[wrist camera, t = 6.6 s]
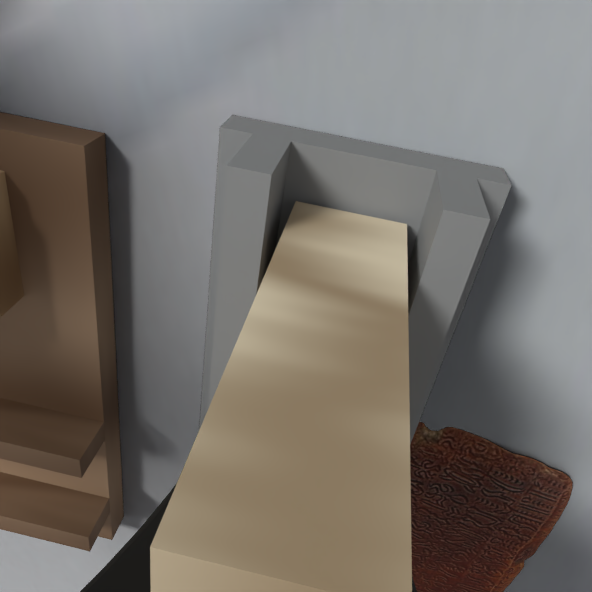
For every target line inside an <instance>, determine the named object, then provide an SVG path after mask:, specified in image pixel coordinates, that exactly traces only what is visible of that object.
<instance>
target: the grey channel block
mask: <svg viewBox="0 0 592 592" xmlns="http://www.w3.org/2000/svg"><path fill="white" fill-rule="evenodd" d="M510 188H511V183H510V181H509V179H508V177H507V175H506V173H505V170H504V169H503V168H498V167H493V166H488V165H483V164H478V163H473V162H468V161H463V160H458V159H453V158H448V157H442V156H437V155H432V154H427V153H422V152H417V151H412V150H407V149H402V148H397V147H392V146H387V145H382V144H377V143H372V142H367V141H362V140H357V139H352V138H347V137H342V136H336V135H331V134H326V133H321V132H316V131H311V130H306V129H301V128H296V127H291V126H286V125H281V124H276V123H271V122H266V121H261V120H256V119H251V118H246V117H241V116H236V115H232V116H231V117H230V118H229V119H228V120H227V121H226V122H225V123H224V124H223V125H222V126H221V127H220V134H219V148H218V163H217V177H216V192H215V206H214V221H213V235H212V250H211V264H210V279H209V293H208V308H207V322H206V337H205V351H204V366H203V380H202V394H201V409H200V423H199V430H200V427H201V425H202V423H203V420H204V418H205V416H206V413H207V411H208V408H209V406H210V404H211V401H212V399H213V397H214V394H215V392H216V389H217V387H218V385H219V382H220V380H221V378H222V375H223V373H224V370H225V368H226V366H227V363H228V361H229V359H230V356H231V354H232V351H233V349H234V347H235V344H236V342H237V340H238V337H239V335H240V332H241V330H242V328H243V325H244V323H245V321H246V318H247V316H248V313H249V311H250V309H251V306H252V304H253V302H254V299H255V297H256V294H257V292H258V290H259V287H260V285H261V283H262V280H263V278H264V275H265V273H266V271H267V268H268V266H269V264H270V261H271V259H272V256H273V254H274V252H275V249H276V247H277V245H278V242H279V240H280V237H281V235H282V233H283V230H284V228H285V226H286V223H287V221H288V218H289V216H290V214H291V211H292V209H293V207H294V204H295V202H296V201H298V202H303V203H308V204H312V205H317V206H322V207H327V208H332V209H337V210H341V211H346V212H351V213H356V214H361V215H366V216H371V217H375V218H380V219H385V220H390V221H395V222H400V223H404V224H407V258H408V330H409V403H410V444H411V441H412V439H413V436H414V434H415V431H416V428H417V426H418V423H419V421H420V418H421V416H422V413H423V411H424V408H425V405H426V403H427V400H428V398H429V395H430V393H431V390H432V388H433V385H434V382H435V380H436V377H437V375H438V372H439V370H440V367H441V365H442V362H443V359H444V357H445V354H446V352H447V349H448V347H449V344H450V341H451V339H452V336H453V334H454V331H455V329H456V326H457V324H458V321H459V318H460V316H461V313H462V311H463V308H464V306H465V303H466V301H467V298H468V295H469V293H470V290H471V288H472V285H473V283H474V280H475V278H476V275H477V272H478V270H479V267H480V265H481V262H482V260H483V257H484V254H485V252H486V249H487V247H488V244H489V242H490V239H491V237H492V234H493V231H494V229H495V226H496V224H497V221H498V219H499V216H500V214H501V211H502V208H503V206H504V203H505V201H506V198H507V196H508V193H509V191H510Z"/></svg>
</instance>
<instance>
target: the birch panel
mask: <svg viewBox="0 0 592 592" xmlns="http://www.w3.org/2000/svg"><path fill="white" fill-rule="evenodd" d="M150 580H151V592H412V548H411V476H410V403H409V330H408V258H407V224H404V223H400V222H395V221H390V220H385V219H380V218H375V217H371V216H366V215H361V214H356V213H351V212H346V211H341V210H337V209H332V208H327V207H322V206H317V205H312V204H308V203H303V202H298V201H296V202H295V204H294V207H293V209H292V211H291V214H290V216H289V218H288V221H287V223H286V226H285V228H284V230H283V233H282V235H281V237H280V240H279V242H278V245H277V247H276V249H275V252H274V254H273V256H272V259H271V261H270V264H269V266H268V268H267V271H266V273H265V275H264V278H263V280H262V283H261V285H260V287H259V290H258V292H257V294H256V297H255V299H254V302H253V304H252V306H251V309H250V311H249V313H248V316H247V318H246V321H245V323H244V325H243V328H242V330H241V332H240V335H239V337H238V340H237V342H236V344H235V347H234V349H233V351H232V354H231V356H230V359H229V361H228V363H227V366H226V368H225V370H224V373H223V375H222V378H221V380H220V382H219V385H218V387H217V389H216V392H215V394H214V397H213V399H212V401H211V404H210V406H209V408H208V411H207V413H206V416H205V418H204V420H203V423H202V425H201V427H200V430H199V432H198V435H197V437H196V439H195V442H194V444H193V446H192V449H191V451H190V454H189V456H188V458H187V461H186V463H185V465H184V468H183V470H182V473H181V475H180V477H179V480H178V482H177V484H176V487H175V489H174V492H173V494H172V496H171V499H170V501H169V503H168V506H167V508H166V511H165V513H164V515H163V518H162V520H161V522H160V525H159V527H158V530H157V532H156V534H155V537H154V539H153V541H152V544H151V546H150Z"/></svg>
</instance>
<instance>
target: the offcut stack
mask: <svg viewBox="0 0 592 592" xmlns="http://www.w3.org/2000/svg"><path fill="white" fill-rule="evenodd" d="M23 297H24V291H23V285H22V278H21V272H20V266H19V259H18V253H17V247H16V240H15V234H14V228H13V222H12V215H11V209H10V203H9V196H8V190H7V184H6V177H5V171H1V170H0V317H2V316H3V315H4V314H5V313H6V312H7V311H8V310H9V309H10V308H12V307H13V306H14V305H15V304H16V303H17V302H18V301H19V300H20V299H21V298H23Z"/></svg>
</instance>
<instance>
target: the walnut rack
mask: <svg viewBox="0 0 592 592" xmlns="http://www.w3.org/2000/svg"><path fill="white" fill-rule="evenodd" d="M0 170H1V171H5V177H6V184H7V190H8V196H9V203H10V209H11V215H12V222H13V228H14V234H15V240H16V247H17V253H18V259H19V266H20V272H21V278H22V285H23V291H24V297H23V298H21V299H20V300H19V301H18V302H17V303H16V304H15V305H14V306H13V307H12V308H10V309H9V310H8V311H7V312H6V313H5V314H4V315H3V316H2V317H0V529H2V530H6V531H10V532H14V533H18V534H22V535H26V536H30V537H34V538H39V539H43V540H47V541H51V542H55V543H59V544H63V545H67V546H71V547H75V548H79V549H83V550H87V551H90V550H91V548H92V546H93V544H94V542H95V541H96V539H97V537H98V536H99V537H103V538H107V539H111V540H112V539H113V537H114V535H115V533H116V531H117V529H118V527H119V525H120V523H121V521H122V519H123V517H124V511H123V491H122V470H121V450H120V430H119V409H118V389H117V368H116V348H115V328H114V307H113V287H112V266H111V246H110V226H109V205H108V185H107V165H106V144H105V133H101V132H96V131H91V130H86V129H81V128H76V127H71V126H66V125H62V124H57V123H52V122H47V121H42V120H37V119H32V118H27V117H22V116H17V115H12V114H7V113H2V112H0Z"/></svg>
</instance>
